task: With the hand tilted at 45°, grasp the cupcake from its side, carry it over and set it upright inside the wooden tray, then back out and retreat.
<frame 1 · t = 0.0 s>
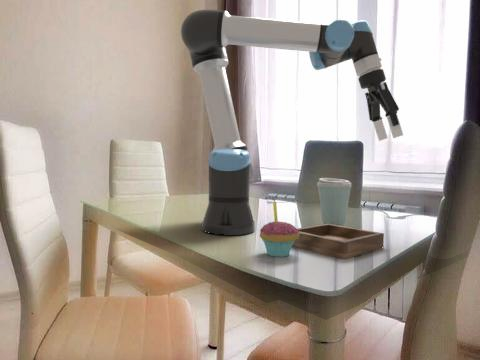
hand: (390, 138, 110), 28 cm above the table, tool tilted 20°, fingers open, 13 cm apart
wooden tray: (334, 246, 85), on the table
disposable coffee cup: (333, 226, 113), on the table
cupcake: (278, 254, 77), on the table
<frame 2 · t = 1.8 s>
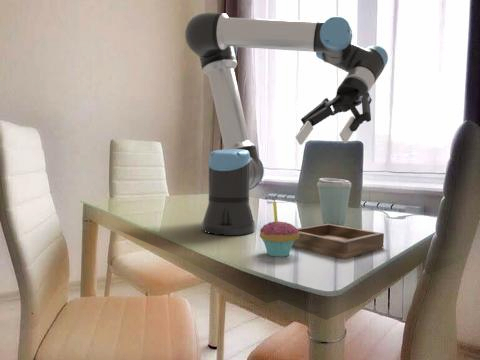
hand: (319, 139, 89), 26 cm above the table, tool tilted 45°, fingers open, 13 cm apart
nothing on the table moved.
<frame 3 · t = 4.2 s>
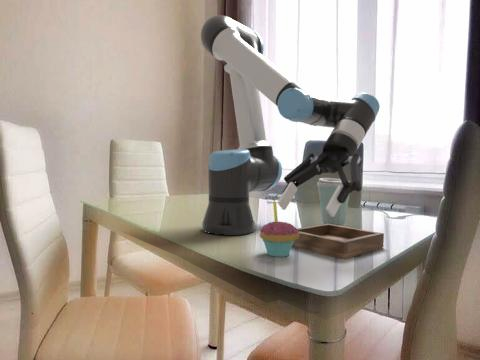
hand: (303, 209, 79), 10 cm above the table, tool tilted 45°, fingers open, 13 cm apart
nothing on the table moved.
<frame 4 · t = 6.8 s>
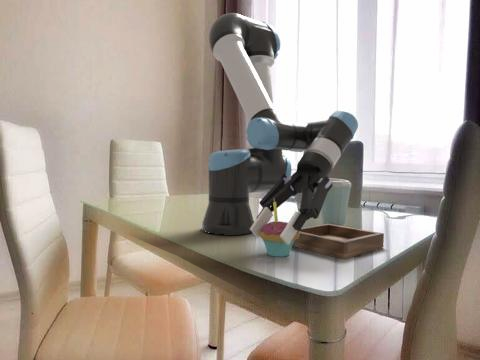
hand: (268, 236, 75), 4 cm above the table, tool tilted 45°, fingers closed on cupcake, 8 cm apart
cupcake: (278, 254, 77), on the table, touching gripper
everything else where it was.
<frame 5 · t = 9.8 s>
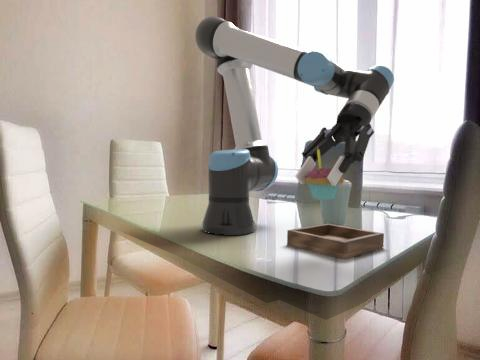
hand: (314, 180, 79), 16 cm above the table, tool tilted 45°, fingers closed on cupcake, 8 cm apart
cupcake: (323, 199, 82), point 12 cm above the table, touching gripper
everything else where it was.
when the fingers open (7 cm above the table, at t = 12.8 s): cupcake drops 1 cm, resting on wooden tray.
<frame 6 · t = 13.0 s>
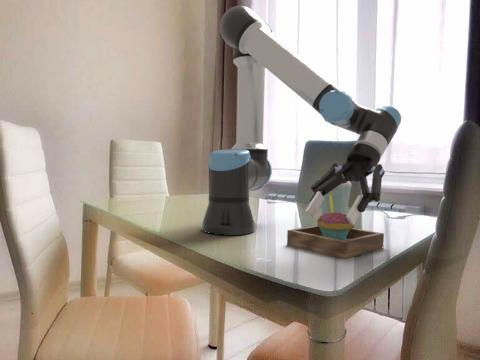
hand: (328, 217, 83), 7 cm above the table, tool tilted 45°, fingers open, 11 cm apart
cupcake: (334, 242, 85), point 1 cm above the table, touching wooden tray
everything else where it was.
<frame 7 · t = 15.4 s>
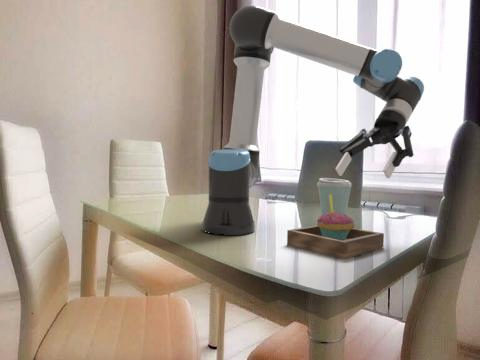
hand: (360, 173, 91), 17 cm above the table, tool tilted 45°, fingers open, 13 cm apart
nothing on the table moved.
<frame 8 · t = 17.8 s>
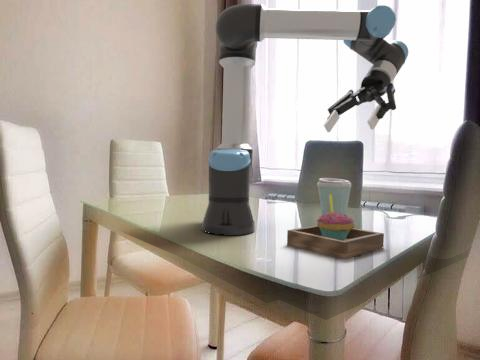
hand: (347, 127, 96), 30 cm above the table, tool tilted 45°, fingers open, 13 cm apart
nothing on the table moved.
at the end: cupcake inside the target area on the wooden tray (0.0 cm from its centre), point 0.8 cm above the wooden tray's base; cupcake tilted 0°; the gripper is holding nothing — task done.
